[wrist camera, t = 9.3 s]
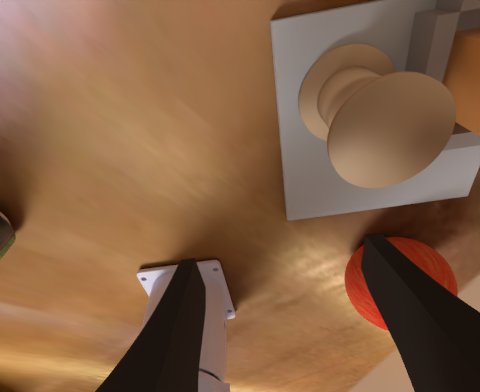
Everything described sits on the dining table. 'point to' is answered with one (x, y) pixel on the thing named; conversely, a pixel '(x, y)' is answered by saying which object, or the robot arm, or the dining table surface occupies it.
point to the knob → (375, 115)
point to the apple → (417, 254)
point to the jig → (404, 59)
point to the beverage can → (5, 235)
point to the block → (465, 78)
